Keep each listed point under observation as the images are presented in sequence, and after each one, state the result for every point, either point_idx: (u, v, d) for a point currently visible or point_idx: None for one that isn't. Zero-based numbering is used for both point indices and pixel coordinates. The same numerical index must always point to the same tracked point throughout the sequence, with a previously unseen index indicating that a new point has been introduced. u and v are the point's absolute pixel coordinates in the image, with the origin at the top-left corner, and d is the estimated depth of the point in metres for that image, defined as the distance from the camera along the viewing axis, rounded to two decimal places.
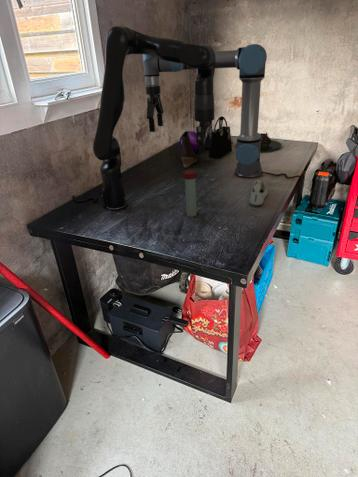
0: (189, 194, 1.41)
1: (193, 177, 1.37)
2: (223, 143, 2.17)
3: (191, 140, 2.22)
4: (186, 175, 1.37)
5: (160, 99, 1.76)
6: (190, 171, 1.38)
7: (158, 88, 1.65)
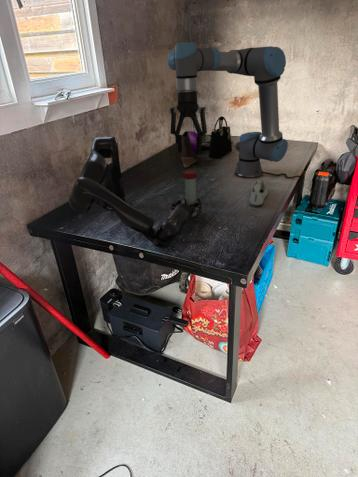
0: (189, 194, 1.41)
1: (193, 177, 1.37)
2: (223, 143, 2.17)
3: (191, 140, 2.22)
4: (186, 175, 1.37)
5: (202, 115, 1.24)
6: (190, 171, 1.38)
7: (180, 95, 1.21)
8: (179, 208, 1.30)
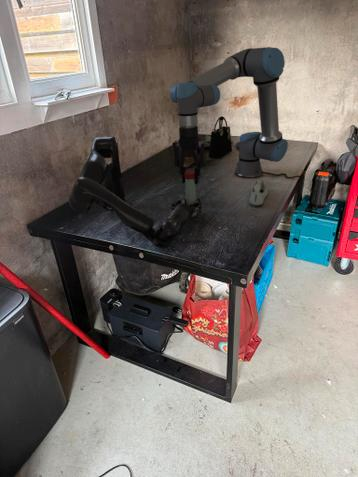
0: (189, 194, 1.41)
1: (193, 177, 1.37)
2: (223, 143, 2.17)
3: None
4: (186, 175, 1.37)
5: (202, 150, 1.30)
6: (190, 171, 1.38)
7: (182, 131, 1.27)
8: (179, 208, 1.30)
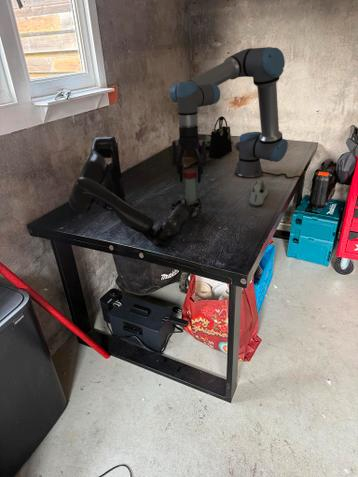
0: (189, 194, 1.41)
1: None
2: (223, 143, 2.17)
3: None
4: (194, 174, 1.37)
5: (203, 148, 1.30)
6: (188, 171, 1.38)
7: (183, 130, 1.26)
8: (179, 208, 1.30)
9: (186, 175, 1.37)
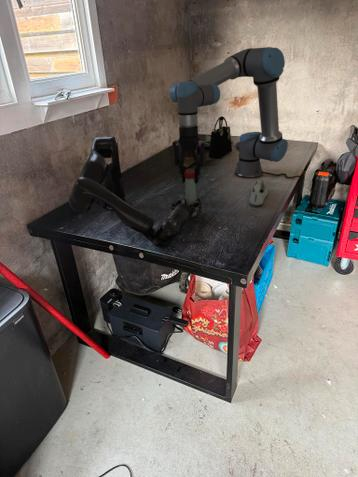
0: (189, 194, 1.41)
1: None
2: (223, 143, 2.17)
3: None
4: (194, 174, 1.37)
5: (202, 149, 1.30)
6: (188, 171, 1.38)
7: (182, 130, 1.27)
8: (179, 208, 1.30)
9: (186, 175, 1.37)
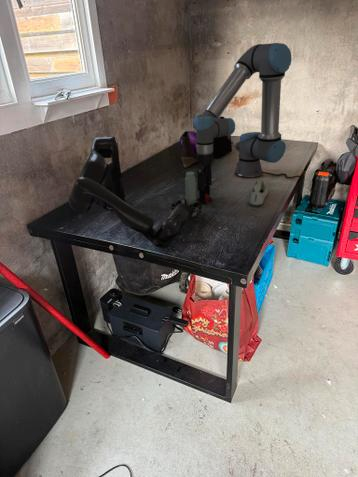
0: (189, 194, 1.41)
1: None
2: (223, 143, 2.17)
3: (191, 140, 2.22)
4: None
5: None
6: None
7: (210, 157, 1.47)
8: (179, 208, 1.30)
9: (208, 199, 1.58)
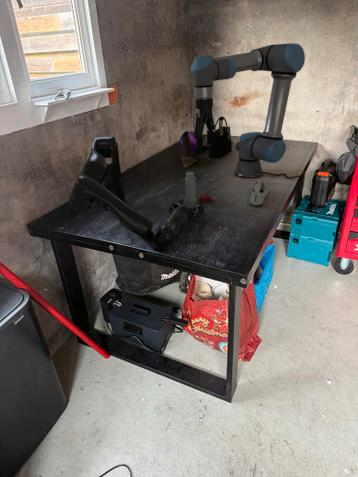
0: (189, 194, 1.41)
1: None
2: (223, 143, 2.17)
3: (191, 140, 2.22)
4: None
5: None
6: (204, 196, 1.59)
7: (210, 101, 1.36)
8: (178, 211, 1.29)
9: (208, 199, 1.58)
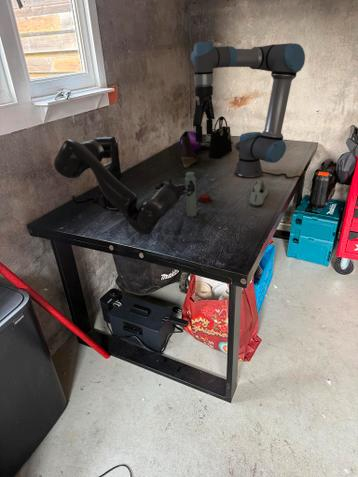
0: None
1: None
2: (223, 143, 2.17)
3: (191, 140, 2.22)
4: None
5: (211, 102, 1.44)
6: (204, 196, 1.59)
7: (210, 89, 1.33)
8: (164, 189, 1.13)
9: (208, 199, 1.58)
